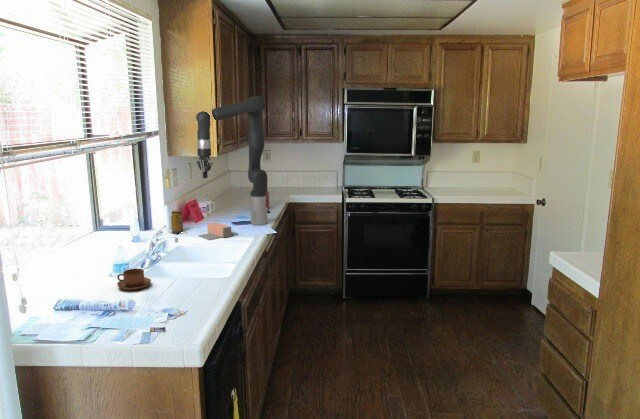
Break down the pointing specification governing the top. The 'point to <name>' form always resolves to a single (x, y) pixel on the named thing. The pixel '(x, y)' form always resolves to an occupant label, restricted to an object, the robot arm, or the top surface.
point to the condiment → (177, 222)
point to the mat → (212, 236)
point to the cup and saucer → (133, 279)
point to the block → (219, 229)
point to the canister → (267, 199)
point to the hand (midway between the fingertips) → (205, 178)
